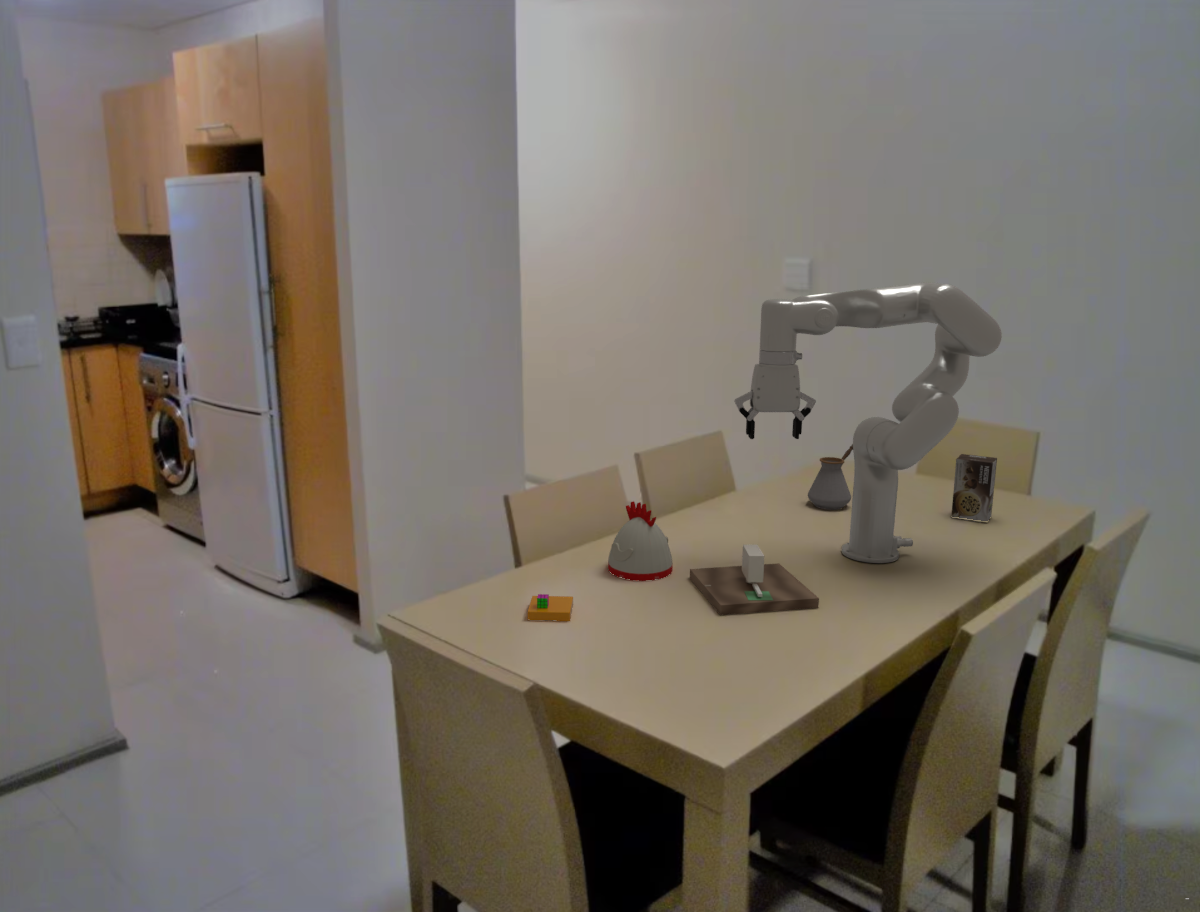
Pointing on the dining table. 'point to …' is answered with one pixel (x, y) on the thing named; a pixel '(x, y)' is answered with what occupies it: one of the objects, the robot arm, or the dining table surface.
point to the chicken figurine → (640, 548)
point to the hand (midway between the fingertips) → (773, 437)
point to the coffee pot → (830, 484)
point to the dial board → (752, 590)
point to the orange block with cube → (550, 608)
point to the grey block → (753, 566)
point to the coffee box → (974, 487)
